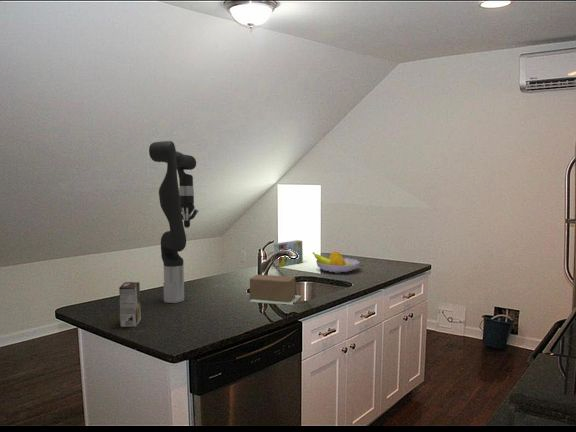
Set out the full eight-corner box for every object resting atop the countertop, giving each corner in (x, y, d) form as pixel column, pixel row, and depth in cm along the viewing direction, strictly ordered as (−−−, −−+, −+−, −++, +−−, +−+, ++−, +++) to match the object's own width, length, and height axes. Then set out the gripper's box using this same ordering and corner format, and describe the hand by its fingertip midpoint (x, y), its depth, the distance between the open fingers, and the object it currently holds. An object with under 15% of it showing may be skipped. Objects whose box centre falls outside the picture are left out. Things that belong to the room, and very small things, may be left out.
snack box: (297, 261, 332) (297, 239, 331) (302, 263, 328) (302, 240, 326) (273, 266, 318) (273, 243, 316) (279, 267, 314) (279, 244, 312)
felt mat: (292, 305, 225) (292, 304, 225) (249, 302, 231) (249, 301, 231) (300, 296, 241) (300, 295, 241) (260, 293, 246) (260, 292, 246)
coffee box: (125, 320, 204) (124, 282, 202) (141, 319, 204) (140, 281, 203) (119, 327, 195) (118, 287, 193) (136, 326, 195) (135, 286, 194)
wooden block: (249, 299, 235) (289, 302, 229) (249, 278, 234) (289, 281, 228) (257, 294, 244) (295, 297, 238) (256, 274, 243) (295, 276, 237)
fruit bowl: (365, 269, 306) (365, 251, 305) (346, 277, 284) (346, 258, 283) (326, 264, 321) (326, 247, 320) (305, 272, 299) (305, 253, 298)
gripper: (171, 194, 254) (172, 228, 256) (194, 195, 251) (195, 228, 252) (178, 194, 261) (179, 226, 263) (201, 194, 258) (201, 227, 259)
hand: (187, 227), depth 258 cm, fingers closed
